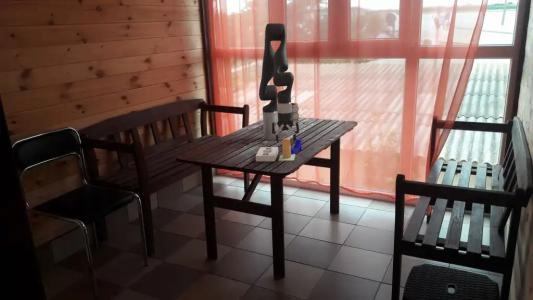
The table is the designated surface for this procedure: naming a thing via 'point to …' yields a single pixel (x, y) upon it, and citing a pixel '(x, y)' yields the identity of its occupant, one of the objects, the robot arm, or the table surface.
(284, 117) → the robot arm
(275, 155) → the white slab with hole
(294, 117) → the tankard
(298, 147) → the cable clip
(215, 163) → the table surface
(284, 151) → the plug
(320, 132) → the table surface
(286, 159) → the mat
